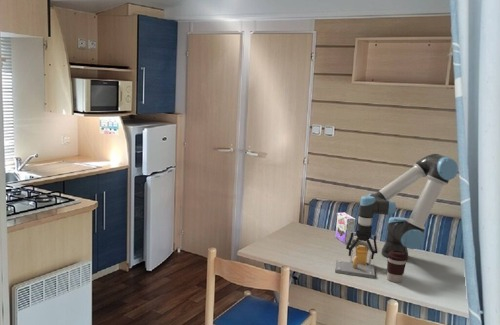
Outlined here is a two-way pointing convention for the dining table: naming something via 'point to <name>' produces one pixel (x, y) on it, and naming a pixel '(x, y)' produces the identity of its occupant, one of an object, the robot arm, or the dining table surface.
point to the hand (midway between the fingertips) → (360, 263)
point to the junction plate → (355, 268)
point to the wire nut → (361, 254)
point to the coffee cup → (396, 265)
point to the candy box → (344, 227)
